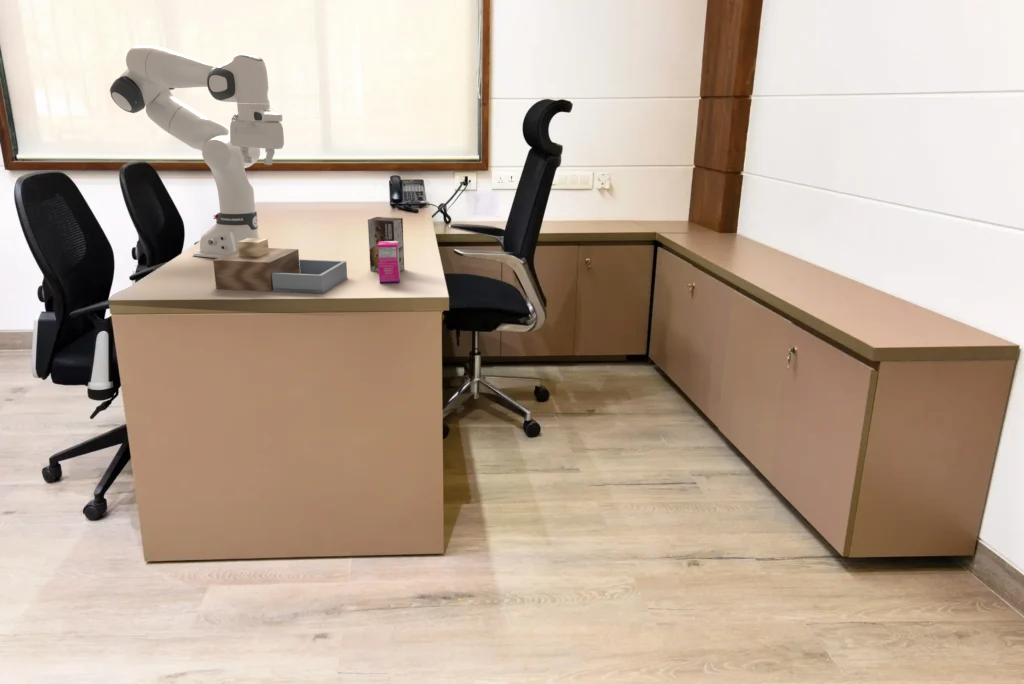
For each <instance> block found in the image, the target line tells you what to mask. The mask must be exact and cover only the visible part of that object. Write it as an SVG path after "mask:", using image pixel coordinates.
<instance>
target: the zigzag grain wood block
mask: <svg viewBox="0 0 1024 684" xmlns="http://www.w3.org/2000/svg"><path fill="white" fill-rule="evenodd" d="M268 249H269V253H267V254H265V255H262V256H260V257H254V256H239V250H238V251H236V252H233V253H230V254H228V255H225V256H223V257H220V258H215V259H213V260H212V261H213V262H212V263H213V271H214V281H215V288H216V290H217V289H218V290H233V289H238V290H239V291H257V292H260V291H262V292H274V291H273V280H272V273H292V274H300V262H299V260H300V254H299V252H300V251H299V248H279V247H277V248H276V247H268Z"/></svg>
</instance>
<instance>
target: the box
mask: <svg viewBox="0 0 1024 684" xmlns="http://www.w3.org/2000/svg"><path fill="white" fill-rule="evenodd" d="M347 264H348V263H347V261H346V260H323V259H300V258H299V265H300V274H292V273H272V280H273V291H272V292H280V293H300V294H301V293H302V294H318V295H319V294H325V293H326V292H327V291H330V290H331V289H332V288H334V287H335V286H337V285H339V284H340V283H342V282H344V281H345V280H346V279H347V278H348V269H347V267H348V266H347Z"/></svg>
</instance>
